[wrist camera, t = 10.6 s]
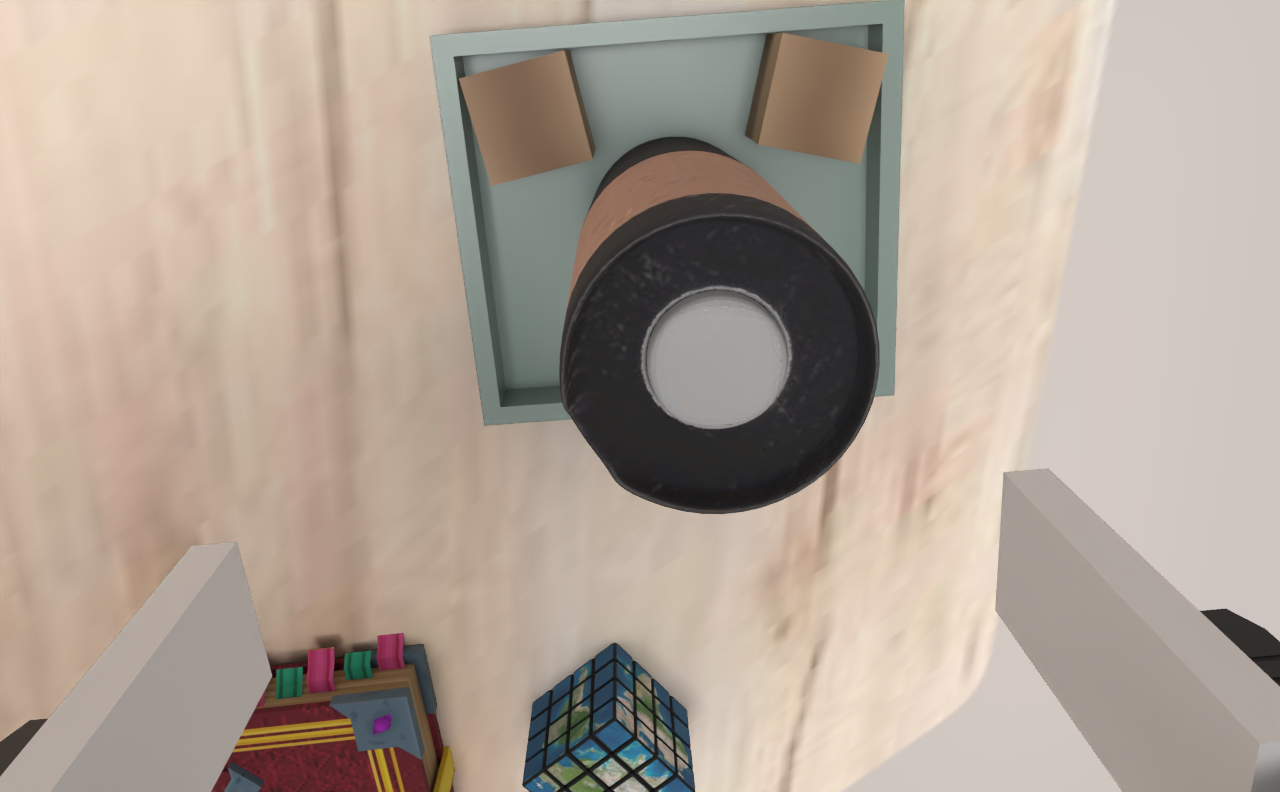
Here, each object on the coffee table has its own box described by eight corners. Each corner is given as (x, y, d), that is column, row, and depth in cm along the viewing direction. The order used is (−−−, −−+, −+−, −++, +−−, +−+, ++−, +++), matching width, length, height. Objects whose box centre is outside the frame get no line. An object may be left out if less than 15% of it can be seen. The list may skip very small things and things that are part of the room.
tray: (493, 401, 44) (484, 425, 41) (443, 36, 38) (429, 35, 35) (876, 372, 44) (894, 395, 41) (883, 2, 38) (904, -1, 35)
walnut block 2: (744, 134, 39) (757, 144, 35) (766, 33, 38) (782, 32, 34) (837, 152, 39) (860, 163, 36) (862, 53, 38) (888, 53, 34)
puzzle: (614, 640, 49) (614, 717, 43) (688, 710, 50) (697, 793, 45) (530, 703, 50) (519, 786, 44) (605, 769, 52) (603, 857, 46)
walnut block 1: (503, 172, 39) (491, 185, 36) (474, 75, 38) (458, 78, 34) (595, 148, 39) (592, 159, 35) (569, 49, 38) (564, 50, 34)
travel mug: (783, 151, 39) (933, 247, 20) (736, 323, 42) (831, 547, 23) (605, 109, 38) (591, 168, 20) (569, 286, 41) (526, 487, 22)
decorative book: (283, 877, 54) (251, 956, 49) (206, 645, 48) (162, 709, 44) (476, 857, 54) (463, 934, 49) (422, 621, 48) (401, 683, 44)
